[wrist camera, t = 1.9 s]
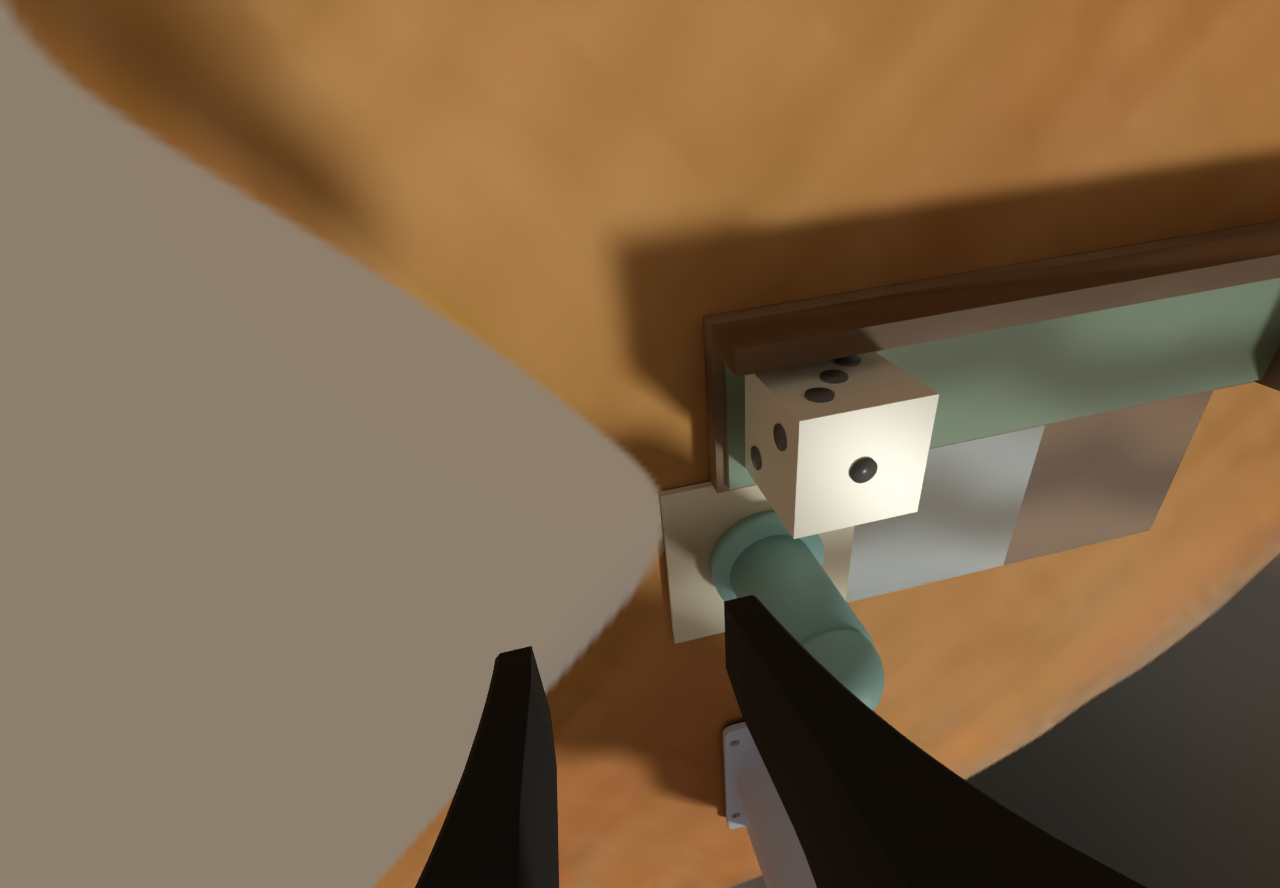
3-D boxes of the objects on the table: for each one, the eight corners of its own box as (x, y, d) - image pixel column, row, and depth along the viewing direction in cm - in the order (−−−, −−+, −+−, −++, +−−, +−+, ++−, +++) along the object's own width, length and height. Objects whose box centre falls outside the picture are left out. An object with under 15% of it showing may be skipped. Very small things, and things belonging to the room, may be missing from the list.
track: (1144, 526, 29) (1149, 530, 29) (673, 638, 26) (675, 644, 26) (1210, 379, 25) (1217, 381, 24) (658, 491, 22) (660, 496, 21)
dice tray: (1249, 370, 25) (1334, 401, 22) (710, 481, 22) (738, 530, 19) (1326, 212, 22) (1435, 226, 19) (703, 316, 19) (735, 350, 16)
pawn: (812, 584, 25) (914, 740, 19) (711, 607, 25) (782, 777, 19) (818, 499, 23) (938, 646, 17) (707, 523, 22) (787, 684, 16)
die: (850, 446, 21) (918, 513, 18) (743, 468, 21) (792, 541, 17) (861, 340, 19) (941, 392, 16) (742, 362, 19) (798, 420, 15)
